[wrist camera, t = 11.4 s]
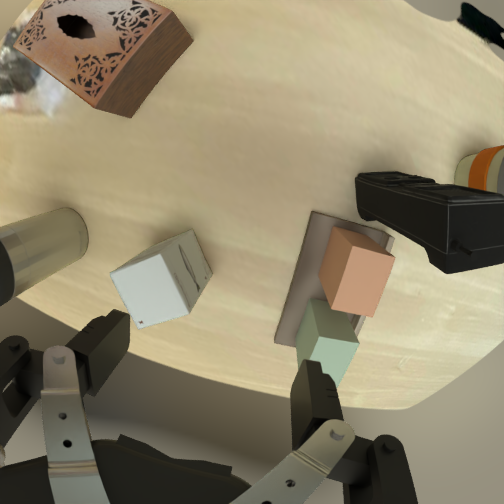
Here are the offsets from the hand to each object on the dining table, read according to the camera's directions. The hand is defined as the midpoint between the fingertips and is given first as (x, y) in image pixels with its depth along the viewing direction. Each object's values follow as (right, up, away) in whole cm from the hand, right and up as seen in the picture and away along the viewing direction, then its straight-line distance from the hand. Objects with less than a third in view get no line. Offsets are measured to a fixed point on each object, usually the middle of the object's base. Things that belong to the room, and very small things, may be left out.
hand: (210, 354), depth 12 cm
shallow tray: (+13, -1, +29) cm, 31 cm away
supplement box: (-8, +3, +29) cm, 31 cm away
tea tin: (+11, -6, +29) cm, 31 cm away
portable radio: (+20, +13, +24) cm, 34 cm away
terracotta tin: (+14, +4, +26) cm, 29 cm away
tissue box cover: (-21, +37, +21) cm, 47 cm away
